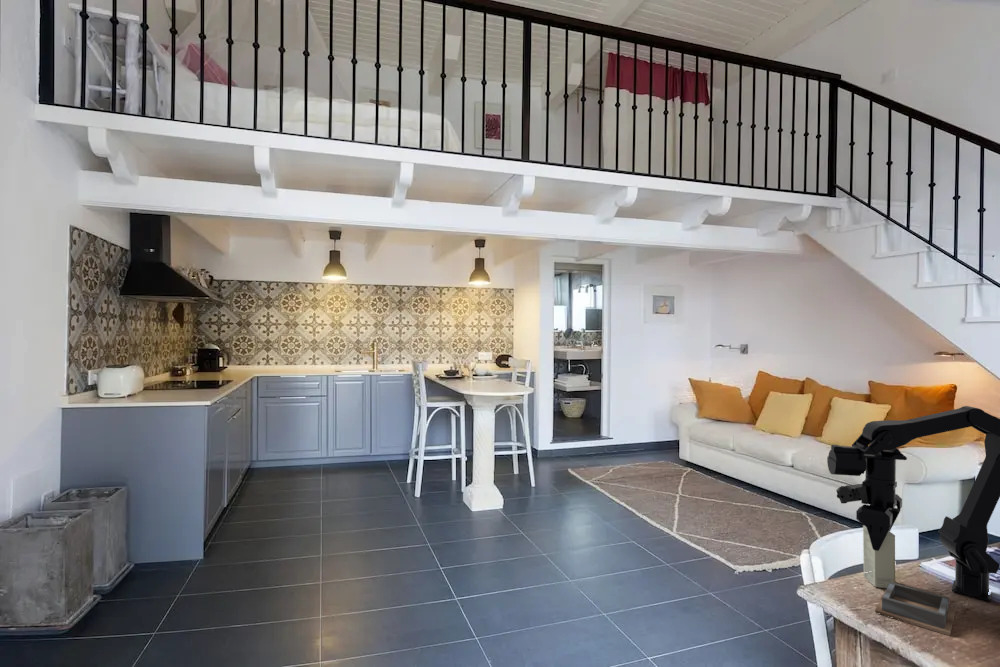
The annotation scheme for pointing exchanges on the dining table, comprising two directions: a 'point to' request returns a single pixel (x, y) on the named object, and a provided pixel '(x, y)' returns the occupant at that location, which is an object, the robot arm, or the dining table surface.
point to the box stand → (917, 608)
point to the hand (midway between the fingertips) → (879, 544)
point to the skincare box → (879, 560)
